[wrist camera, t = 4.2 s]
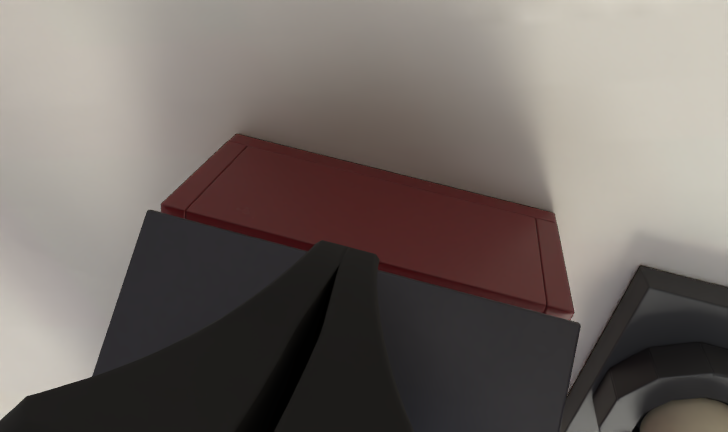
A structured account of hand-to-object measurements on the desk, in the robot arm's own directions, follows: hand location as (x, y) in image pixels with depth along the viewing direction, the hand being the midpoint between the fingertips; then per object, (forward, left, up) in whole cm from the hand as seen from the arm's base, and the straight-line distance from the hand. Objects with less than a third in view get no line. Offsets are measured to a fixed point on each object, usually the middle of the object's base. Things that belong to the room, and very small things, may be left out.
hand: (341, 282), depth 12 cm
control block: (-8, -14, -9) cm, 18 cm away
